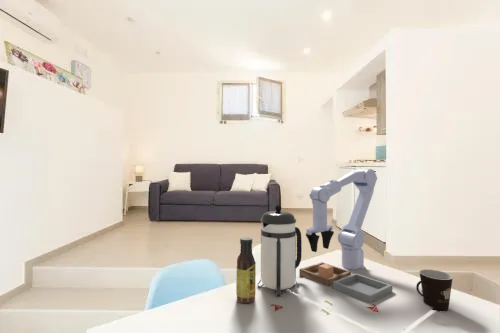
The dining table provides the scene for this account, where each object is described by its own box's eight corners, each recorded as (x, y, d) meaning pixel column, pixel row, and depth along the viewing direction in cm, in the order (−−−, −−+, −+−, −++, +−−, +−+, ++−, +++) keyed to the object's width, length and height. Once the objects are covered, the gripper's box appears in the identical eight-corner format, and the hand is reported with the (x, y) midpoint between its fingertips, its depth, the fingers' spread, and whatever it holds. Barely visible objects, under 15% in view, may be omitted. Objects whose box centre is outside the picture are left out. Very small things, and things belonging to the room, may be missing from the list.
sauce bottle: (253, 305, 88) (253, 241, 88) (234, 303, 89) (234, 240, 89) (257, 296, 94) (257, 237, 94) (239, 294, 95) (239, 236, 96)
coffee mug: (442, 300, 91) (442, 270, 91) (459, 314, 83) (459, 280, 83) (405, 299, 92) (404, 268, 92) (418, 312, 84) (417, 278, 84)
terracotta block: (325, 273, 113) (325, 263, 113) (333, 276, 109) (333, 266, 110) (318, 275, 110) (318, 265, 110) (326, 279, 107) (326, 268, 107)
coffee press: (302, 299, 92) (302, 208, 93) (254, 295, 95) (255, 206, 95) (301, 278, 109) (301, 202, 110) (260, 276, 112) (261, 201, 112)
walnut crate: (322, 269, 120) (322, 262, 120) (351, 279, 109) (350, 271, 109) (299, 276, 112) (299, 269, 112) (328, 288, 101) (328, 280, 101)
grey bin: (355, 281, 107) (355, 273, 107) (392, 294, 96) (392, 285, 96) (332, 290, 99) (332, 281, 99) (370, 305, 88) (370, 296, 88)
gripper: (316, 219, 107) (316, 255, 107) (338, 216, 116) (338, 248, 116) (302, 217, 113) (302, 251, 113) (324, 214, 122) (324, 245, 122)
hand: (320, 249), depth 115 cm, fingers open, 7 cm apart
